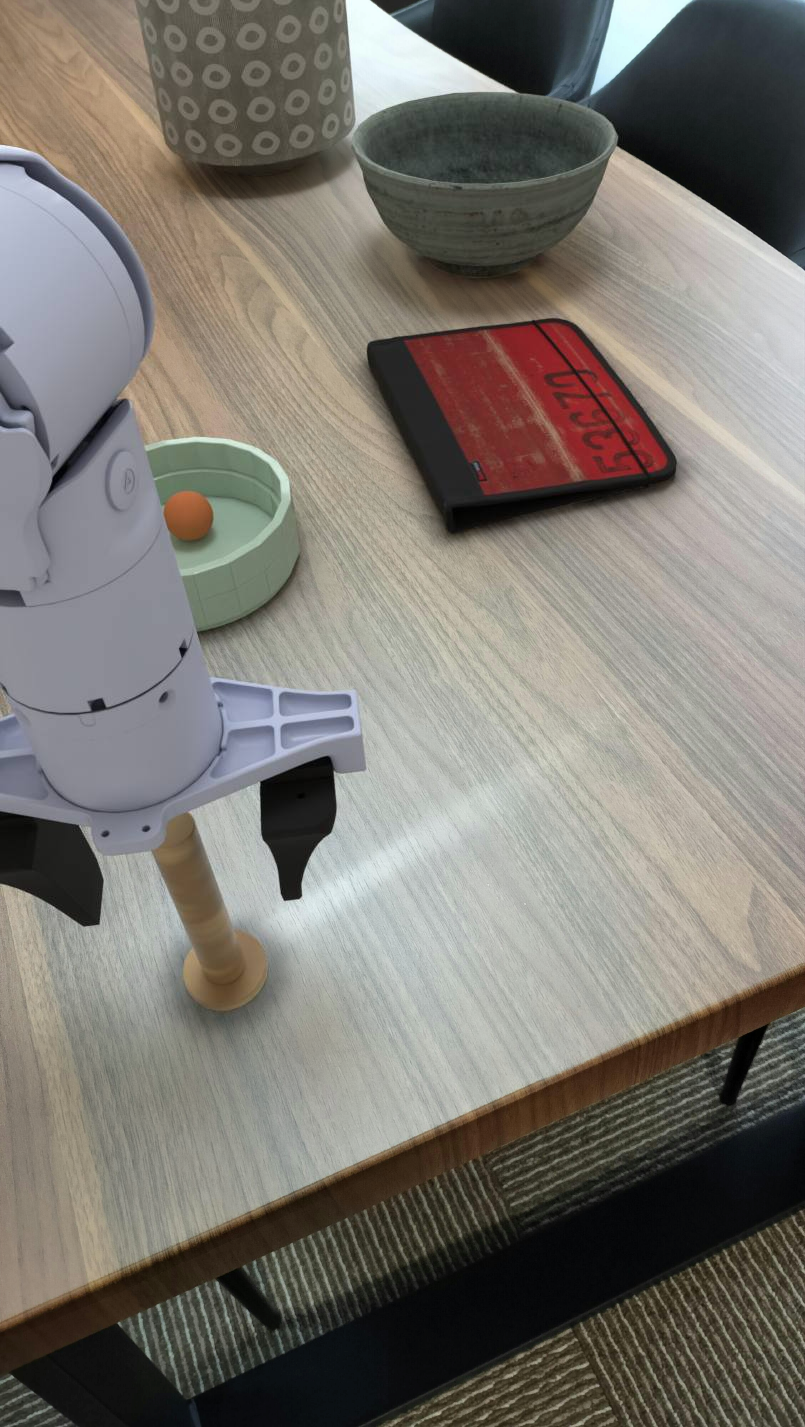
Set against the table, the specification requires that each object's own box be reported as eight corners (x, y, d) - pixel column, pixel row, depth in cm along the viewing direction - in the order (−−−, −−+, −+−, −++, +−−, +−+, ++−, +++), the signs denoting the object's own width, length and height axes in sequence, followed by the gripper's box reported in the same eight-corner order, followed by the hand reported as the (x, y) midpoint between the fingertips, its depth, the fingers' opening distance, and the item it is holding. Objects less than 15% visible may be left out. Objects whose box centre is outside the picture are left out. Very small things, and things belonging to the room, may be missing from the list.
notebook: (446, 505, 61) (364, 338, 75) (446, 537, 63) (365, 367, 77) (693, 461, 64) (570, 307, 78) (686, 493, 66) (566, 336, 79)
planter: (397, 150, 104) (384, -72, 90) (255, 216, 95) (218, -17, 82) (272, 111, 113) (244, -95, 99) (133, 168, 104) (81, -48, 91)
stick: (184, 1016, 43) (114, 876, 35) (187, 940, 46) (122, 792, 38) (269, 1005, 44) (219, 863, 35) (267, 930, 46) (220, 781, 38)
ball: (189, 555, 64) (147, 528, 63) (207, 516, 65) (166, 489, 64) (210, 543, 62) (168, 515, 60) (229, 503, 63) (187, 474, 61)
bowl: (318, 293, 85) (302, 164, 77) (422, 191, 97) (417, 71, 89) (558, 335, 78) (566, 199, 71) (637, 220, 90) (651, 94, 83)
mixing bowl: (75, 650, 58) (50, 591, 55) (94, 508, 67) (74, 450, 64) (305, 622, 59) (295, 562, 56) (295, 485, 68) (285, 425, 64)
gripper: (-201, 781, 26) (-13, 1012, 37) (358, 713, 27) (390, 959, 37) (-138, 598, 31) (14, 848, 41) (338, 543, 32) (372, 803, 42)
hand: (192, 890), depth 40 cm, fingers open, 7 cm apart
